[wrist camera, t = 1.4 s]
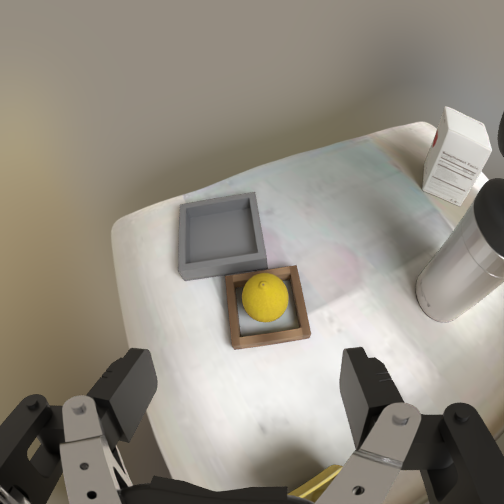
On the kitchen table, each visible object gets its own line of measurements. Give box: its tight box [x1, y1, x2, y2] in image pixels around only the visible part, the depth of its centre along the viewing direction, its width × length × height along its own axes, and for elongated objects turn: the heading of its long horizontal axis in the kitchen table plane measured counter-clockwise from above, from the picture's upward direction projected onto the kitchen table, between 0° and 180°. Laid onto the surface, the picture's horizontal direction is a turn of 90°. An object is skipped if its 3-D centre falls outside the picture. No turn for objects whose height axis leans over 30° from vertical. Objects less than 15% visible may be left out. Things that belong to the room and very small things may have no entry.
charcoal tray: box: [178, 192, 268, 281], centre depth 43 cm, size 12×12×3 cm
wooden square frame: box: [225, 265, 311, 350], centre depth 37 cm, size 10×10×2 cm
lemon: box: [242, 273, 288, 322], centre depth 34 cm, size 6×6×8 cm
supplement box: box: [422, 106, 492, 206], centre depth 40 cm, size 9×9×15 cm
